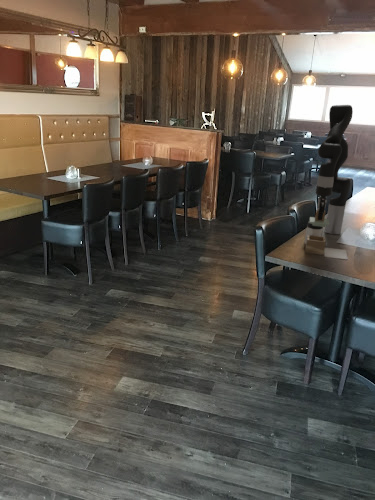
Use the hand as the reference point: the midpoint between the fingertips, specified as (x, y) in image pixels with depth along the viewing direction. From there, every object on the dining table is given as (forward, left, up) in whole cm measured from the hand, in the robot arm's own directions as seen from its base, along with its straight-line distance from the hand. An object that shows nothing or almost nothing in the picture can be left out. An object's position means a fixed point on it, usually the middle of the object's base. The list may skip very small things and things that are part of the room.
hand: (319, 218), depth 209 cm
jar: (-12, -1, -18) cm, 22 cm away
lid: (0, 0, -3) cm, 3 cm away
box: (0, 0, -18) cm, 18 cm away
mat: (0, +10, -18) cm, 20 cm away
